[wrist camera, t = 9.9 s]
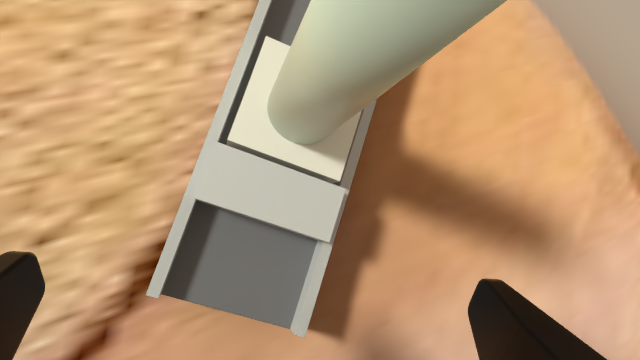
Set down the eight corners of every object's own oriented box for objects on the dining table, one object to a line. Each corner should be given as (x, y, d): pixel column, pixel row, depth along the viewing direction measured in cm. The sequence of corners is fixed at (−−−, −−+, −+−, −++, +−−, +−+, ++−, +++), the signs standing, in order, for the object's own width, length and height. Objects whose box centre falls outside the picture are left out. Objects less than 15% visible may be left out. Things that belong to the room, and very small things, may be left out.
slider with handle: (327, 185, 19) (589, 100, 6) (225, 148, 18) (260, -63, 5) (355, 95, 20) (639, -158, 7) (260, 54, 19) (373, -347, 6)
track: (293, 323, 20) (310, 344, 16) (154, 285, 18) (141, 300, 15) (397, -10, 23) (428, -49, 20) (288, -65, 22) (302, -117, 18)
